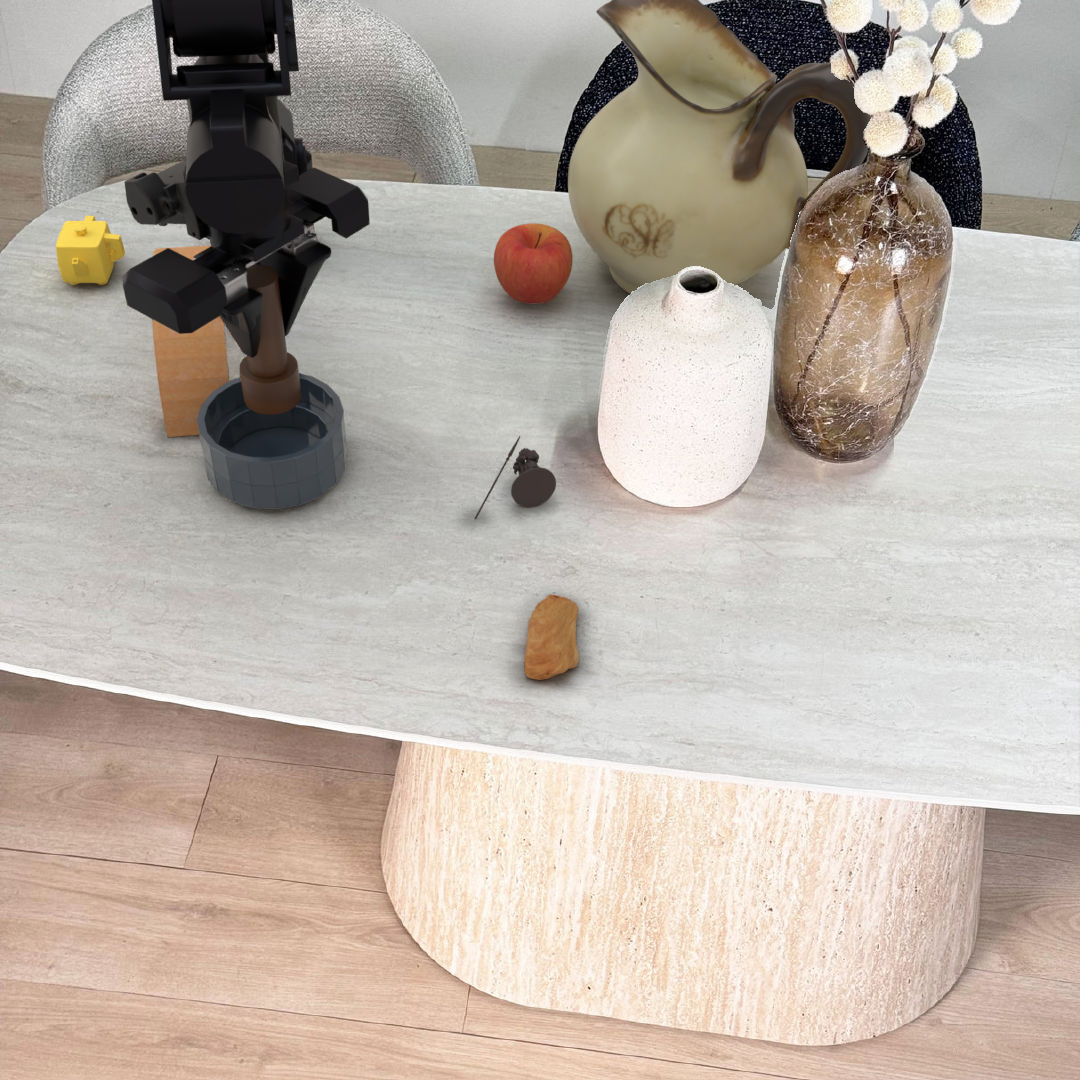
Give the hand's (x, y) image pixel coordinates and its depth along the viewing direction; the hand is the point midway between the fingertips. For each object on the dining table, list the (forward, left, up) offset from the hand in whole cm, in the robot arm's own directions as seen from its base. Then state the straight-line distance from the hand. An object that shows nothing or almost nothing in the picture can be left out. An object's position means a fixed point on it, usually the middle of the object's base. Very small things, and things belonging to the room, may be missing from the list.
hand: (265, 344), depth 95 cm
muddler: (0, 0, -5) cm, 5 cm away
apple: (-32, +2, -12) cm, 34 cm away
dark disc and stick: (-8, +19, -10) cm, 23 cm away
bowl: (0, 0, -12) cm, 12 cm away
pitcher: (-45, +10, -12) cm, 48 cm away
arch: (-5, -15, -12) cm, 20 cm away
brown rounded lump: (+2, +26, -11) cm, 28 cm away
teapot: (-9, -32, -12) cm, 36 cm away
